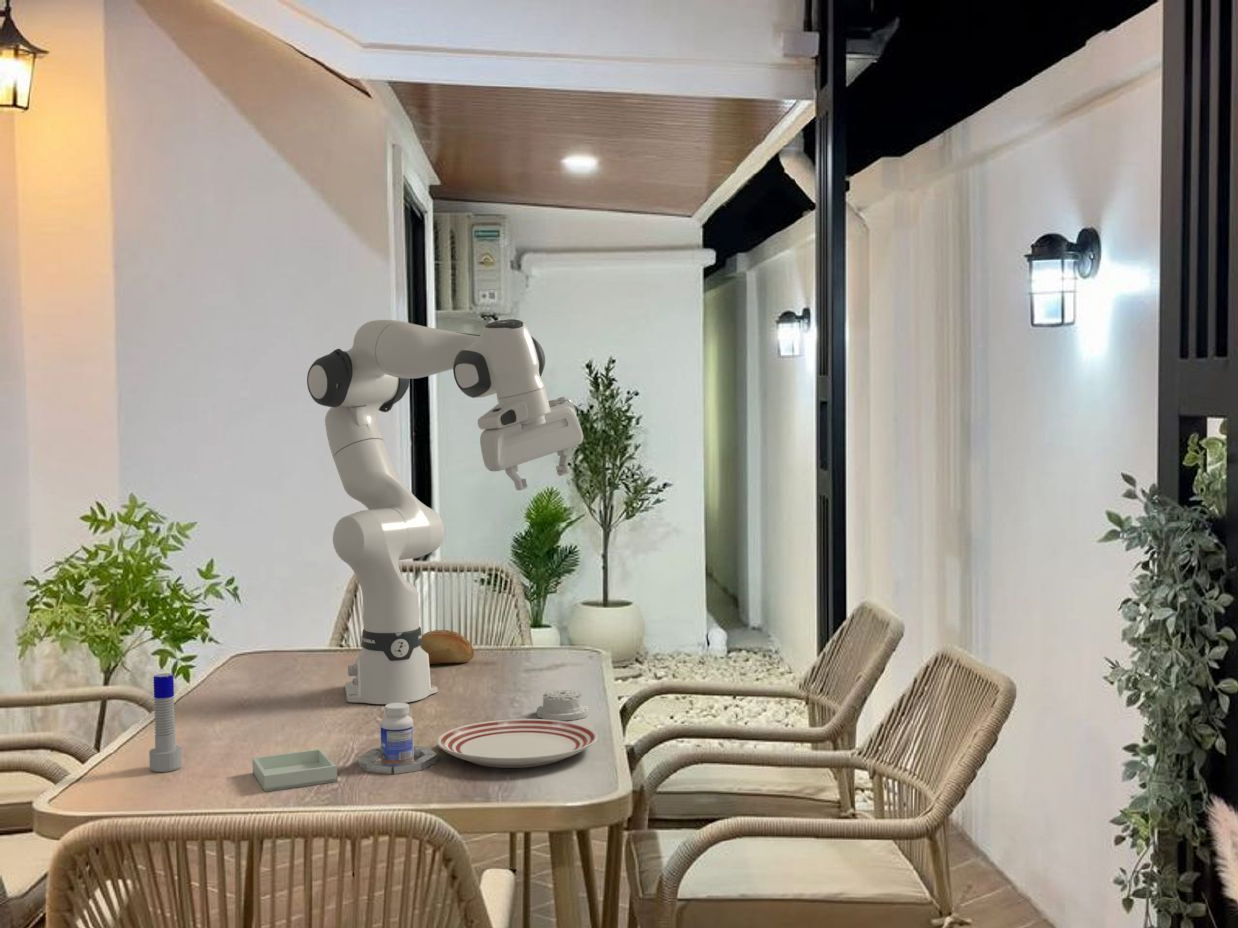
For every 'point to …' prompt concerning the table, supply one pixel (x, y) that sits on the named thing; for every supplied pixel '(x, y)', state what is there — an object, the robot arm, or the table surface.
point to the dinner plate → (517, 742)
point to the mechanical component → (562, 706)
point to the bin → (294, 770)
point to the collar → (370, 765)
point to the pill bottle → (397, 734)
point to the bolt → (164, 727)
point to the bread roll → (446, 647)
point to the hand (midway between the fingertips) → (543, 481)
